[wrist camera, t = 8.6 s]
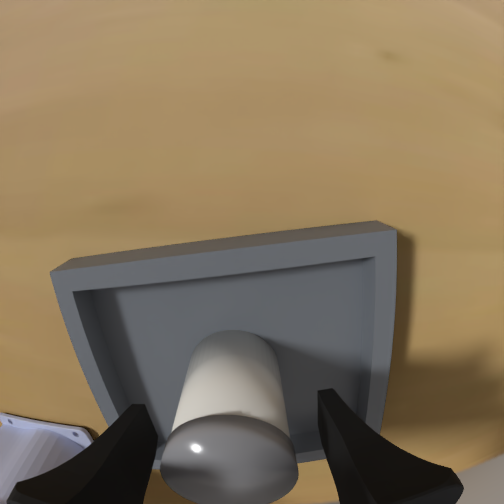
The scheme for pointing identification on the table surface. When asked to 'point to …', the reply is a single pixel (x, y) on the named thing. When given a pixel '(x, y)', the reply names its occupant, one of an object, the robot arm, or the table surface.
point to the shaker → (231, 425)
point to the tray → (239, 319)
